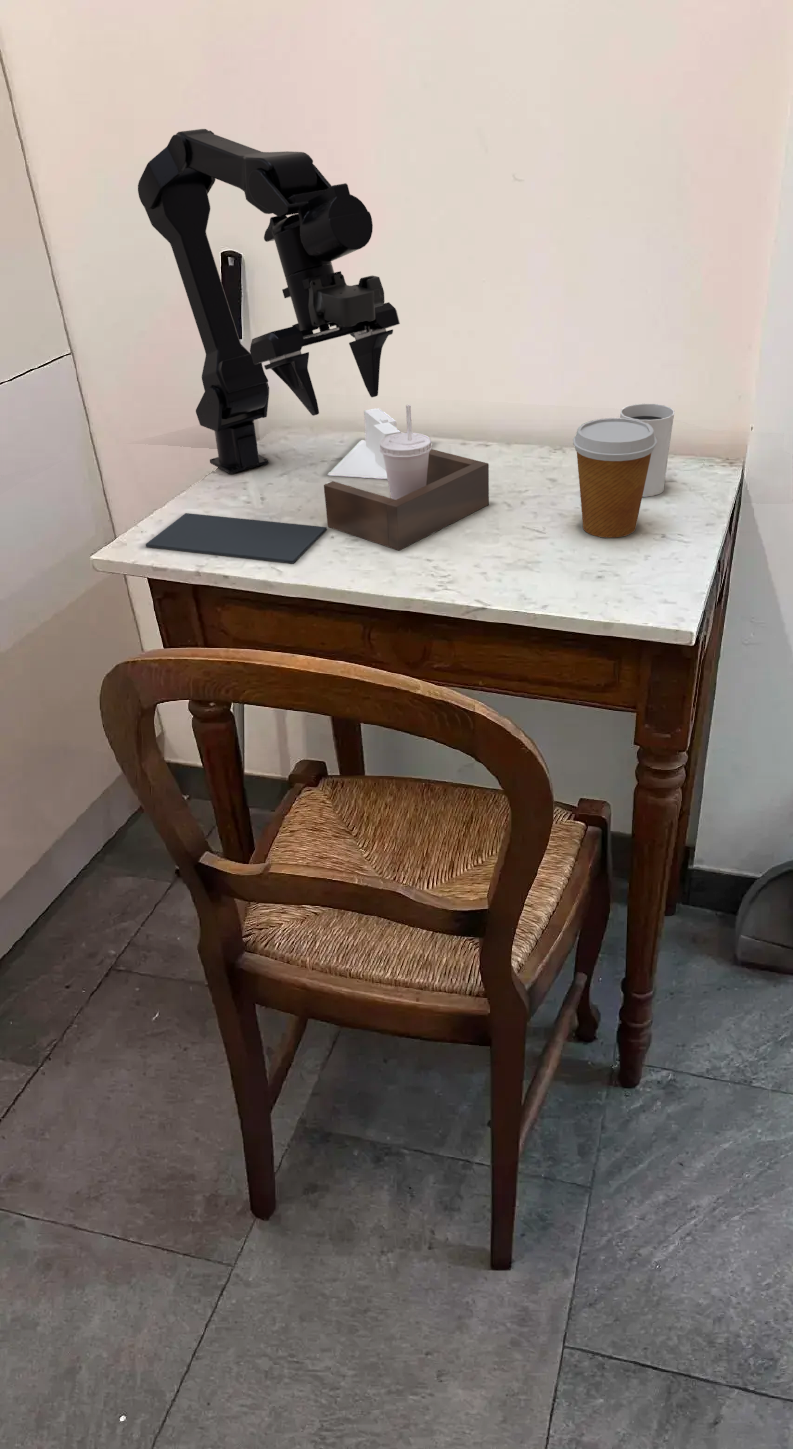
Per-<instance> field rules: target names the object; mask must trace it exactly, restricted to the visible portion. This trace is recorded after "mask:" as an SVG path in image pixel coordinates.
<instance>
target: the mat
mask: <svg viewBox="0 0 793 1449" xmlns="http://www.w3.org/2000/svg"><path fill="white" fill-rule="evenodd" d="M327 530H328V526H319V525H308V524H298V523H290V522H289V523H288V522H279V521H270V520H269V521H268V520H259V519H249V518H248V519H247V518H240V517H239V518H238V517H231V516H230V517H228V516H219V515H211V514H210V515H209V514H198V513H191V512H190V513H189V512H185V513H184V514H183V515H181V516H180V517H179V518H177V519H176V520H175V521H173V522H172V523H171V524H170V525H169V526H167V527H166V528H164V529H163V530H162V531H161V532H160V533H158V534H156V535H154V537H153V538H151V539H150V540H149V541H147V542H146V543H145V548H152V549H161V550H167V551H168V550H169V551H179V552H186V553H187V552H188V553H196V554H203V555H204V554H205V555H213V556H222V557H224V556H225V557H231V558H232V557H233V558H240V559H250V560H257V561H258V560H259V561H266V562H275V563H276V562H277V563H285V564H295V563H296V561H298V560H299V559H300V558H301V557H302V556H303V555H304V554H305V553H306V552H307V551H308V550H309V548H311V547H312V546H313V545H314V544H315V542H317V540H319V539H320V538H321V537H322V536H323V535H324V533H325V532H326V531H327Z"/></svg>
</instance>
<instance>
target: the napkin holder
mask: <svg viewBox="0 0 793 1449" xmlns="http://www.w3.org/2000/svg"><path fill="white" fill-rule="evenodd" d="M363 418H364V420H363V421H364V433H365V434H364V436H365V439H361V440H360V441H358V443H357V444H356V445H355V446H353V448H352V449H351V450H350V451H349V452H348V453H347V454H346V455H345V456H344V457H343V458H342V459H341V460H340V461H339V462H338V463H337V464H336V465H335V466H334V467H333V468H332V469H331V471H329V472H328V473H327V476H333V477H334V476H335V477H347V478H348V477H349V478H365V479H382V480H388V479H387V473H386V468H385V463H384V457H383V454H382V453H381V452H380V441H381V440H382V439H383V438H385V437H387V436H389V435H393V434H398V433H402V431H401V430H400V429H398V428H397V427H398V426H397V425H398V424H397V420H396V419H394V418H393V417H392V416H390V415H389V414H388V413H386V412H385V411H384V410H382V409H381V408H380V407H377V408H371V409H365V410H363ZM432 445H433V443H431V446H432Z"/></svg>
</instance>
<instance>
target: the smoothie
mask: <svg viewBox="0 0 793 1449" xmlns="http://www.w3.org/2000/svg"><path fill="white" fill-rule="evenodd" d="M411 406H412V405H411V404H406V405H405V414H406V432H401V433H398V434H393V435H389V436H387V437H385V438H383V439H382V440H381V441H380V452H381V453H382V454H383V457H384V463H385V468H386V473H387V479H386V480H387V483H388V484H387V485H388V488H389V494H390V498H391V499H395V500H396V499H399V498H401V497H403V496H405V495H407V494H409V493H411V492H414V491H416V490H418V489H420V488H422V487H424V486H426V481H427V470H428V459H429V451H430V450H431V449H433V446H432V445H431V444H432V439H431V437H429V436H428V435H426V434H423V433H419V432H413V427H412V407H411Z"/></svg>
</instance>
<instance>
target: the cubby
mask: <svg viewBox="0 0 793 1449" xmlns="http://www.w3.org/2000/svg"><path fill="white" fill-rule="evenodd" d="M489 468H490V464H489V463H488V462H484V461H481V460H476V459H473V458H469V457H465V456H461V455H457V454H453V453H449V452H444V451H441V450H437V449H433V448H432V449H431V450H430V451H429V459H428V470H427V481H426V486H424V487H422V488H420V489H418V490H416V491H414V492H411V493H409V494H407V495H405V496H403V497H401V498H399V499H396V500H395V499H391V497H388V496H385V495H381V494H379V493H374V492H371V491H368V490H365V489H360V488H357V487H355V486H350V485H348V484H344V483H340V482H337V481H334V480H332V481H330V482H327V483H325V484H323V490H324V502H325V512H326V522H327V528H330V529H334V530H336V531H339V532H342V533H344V534H345V533H346V534H349V535H351V536H355V537H357V538H360V539H364V540H366V541H370V542H373V543H376V544H378V545H381V546H383V547H387V548H391V549H393V550H397V551H401V550H402V549H405V548H406V547H409V546H410V545H412V544H414V543H417V542H419V541H421V540H422V539H424V538H427V537H428V536H430V535H433V534H434V533H436V532H438V531H440V530H442V529H444V528H445V527H448V526H450V525H452V524H453V523H456V522H458V521H461V520H462V519H464V518H465V517H468V516H469V515H471V514H473V513H475V512H478V511H479V510H481V509H483V508H485V507H487V506H489V505H490V469H489Z"/></svg>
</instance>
